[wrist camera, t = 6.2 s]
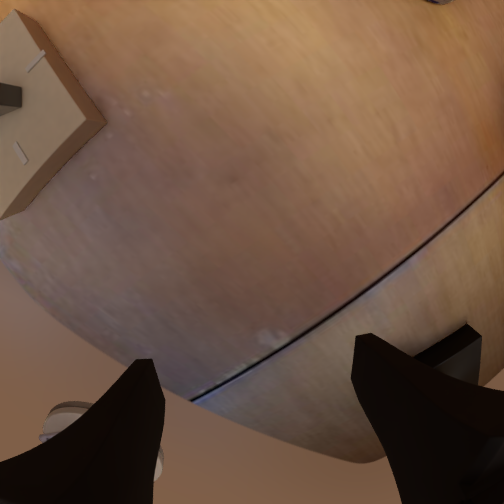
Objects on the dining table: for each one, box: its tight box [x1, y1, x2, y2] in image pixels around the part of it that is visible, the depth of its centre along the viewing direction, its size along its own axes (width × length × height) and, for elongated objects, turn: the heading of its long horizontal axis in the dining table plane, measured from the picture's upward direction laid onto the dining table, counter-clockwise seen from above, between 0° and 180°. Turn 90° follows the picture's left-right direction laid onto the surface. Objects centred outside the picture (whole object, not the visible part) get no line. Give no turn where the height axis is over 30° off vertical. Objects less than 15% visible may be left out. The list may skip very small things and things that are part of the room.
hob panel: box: [0, 9, 107, 220], centre depth 13 cm, size 10×8×3 cm
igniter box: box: [413, 324, 482, 385], centre depth 22 cm, size 11×9×4 cm
